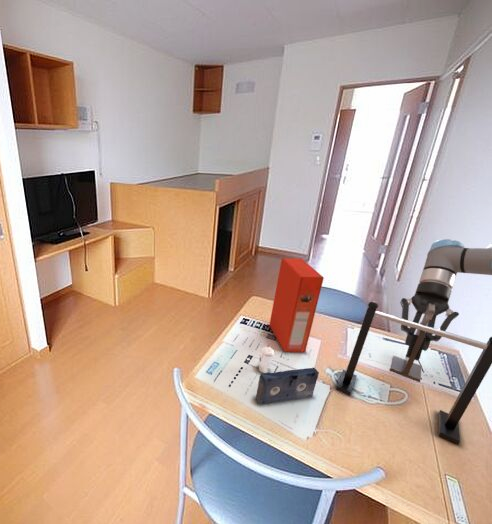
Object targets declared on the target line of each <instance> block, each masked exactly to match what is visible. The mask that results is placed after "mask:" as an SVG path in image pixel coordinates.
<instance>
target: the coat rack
mask: <svg viewBox="0 0 492 524" xmlns="http://www.w3.org/2000/svg"><path fill="white" fill-rule="evenodd" d="M378 308H379V304H378V303H377V301H370V302H368V303H367V309H366V311H365V315H364V317H363V321H362V323H361V326H360V329H359V333H358V335H357V339H356V342H355V344H354V347H353V350H352V353H351V356H350V359H349V362H348V365H347V367H346V370H345V369H343V370H342V372H341V374H340V377H339V379H338V382H337V384H336V388H335V390H337V391H339V392H341V393H343V394H345V395H346V396H349V397H350V396H351V394H352V392H353V389H354V385H355V382H356V379H357V374H354V373H355V370H356V368H357V366H358V362H359V360H360V357H361V354H362V351H363V348H364V345H365V342H366V340H367V337H368V334H369V331H370V329H371V325H372V323H373V320H374V318H375V317H376V318H380V319H383V320H385V321H389V322H393V323H395V324H399V325H401V324H402V325H405V326H408V328H410V327H412V328H415V329H416V330H422V331H425V332H428V333H432V335H434V336H435V335H438V336H441V338H445V339H448V340H451V341H454V342H457V343H458V342H459V343H461V344H464V345H468V346H472V347H475V348H478V349H482V351H481V352H480V355H479V357H478V359H477V360H476V362H475V363H474V365H473V368H472V370H471V371H470V373H469V375H468V377H467V379H466V380H465V383H464V385H463V386H462V388H461V390H460V391H459V393H458V395H457V397H456V399H455V401H454V403H453V404H452V406H451V408H450V410H449V412H446V411H443V410H442V409H440V410H439V411H438V413H437V433H438V435H437V436H438V437H439V438H442V439H444V440H446V441H449V442H450V443H453V444H455V445H457V446H459V444H460V443H461V433H460V421H461V419H462V417H463V415H464V414H465V412H466V410H467V408H468V406H469V405H470V403H471V401H472V400H473V398H474V396H475V394H476V393H477V391H478V389H479V388H480V385H481V384H482V382H483V380H484V379H485V377H486V375H487V373H488V372H489V369H490V368H491V367H492V336H490V337H489V339H488V340H487V342H482V341H479V340H477V339H476V340H475V339H472V338H470V337H465V336H462V335H459V334H455V333H453V332H449V331H447V330H446V331H442V330H439V328H436V327H434V328H432V327H429V326H427V325H426V326H425V325H422V324H420V322H419V323H415V322H413V320H412V321H411V320H409V319H408V320H405V319H402V317H398V316H395V315H391V314H387V313H385V312H381V311H378V310H377V309H378Z"/></svg>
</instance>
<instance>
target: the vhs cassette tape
mask: <svg viewBox="0 0 492 524" xmlns="http://www.w3.org/2000/svg"><path fill="white" fill-rule="evenodd" d="M319 374H320V371H318V370H317V368H315V367H307V368H299V369H288V370H282V371H281V370H280V371H275V372H267V373H260V374H259V379H258V384H257V389H256V393H255V399H256V401H257V402H258V403H259V405H264V404H271V403H280V402H286V401H293V400H300V399H308V398H312V397H313V395H314V391H315V388H316V384H317V381H318V378H319Z"/></svg>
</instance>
